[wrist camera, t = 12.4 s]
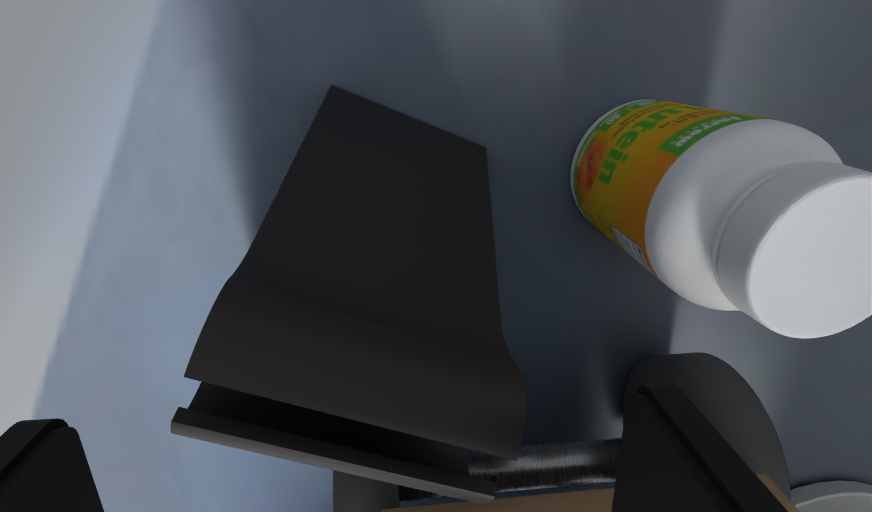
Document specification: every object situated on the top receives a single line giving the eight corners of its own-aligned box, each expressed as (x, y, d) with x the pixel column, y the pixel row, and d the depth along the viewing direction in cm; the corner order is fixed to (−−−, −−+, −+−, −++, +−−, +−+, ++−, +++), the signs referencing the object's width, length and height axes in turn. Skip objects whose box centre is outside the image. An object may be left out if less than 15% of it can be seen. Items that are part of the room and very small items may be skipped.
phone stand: (332, 83, 18) (250, 133, 7) (485, 146, 19) (627, 274, 8) (262, 298, 21) (122, 584, 9) (399, 339, 22) (417, 633, 11)
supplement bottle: (644, 66, 19) (889, 79, 10) (723, 162, 20) (994, 249, 11) (539, 174, 20) (670, 275, 11) (622, 256, 21) (795, 403, 12)
